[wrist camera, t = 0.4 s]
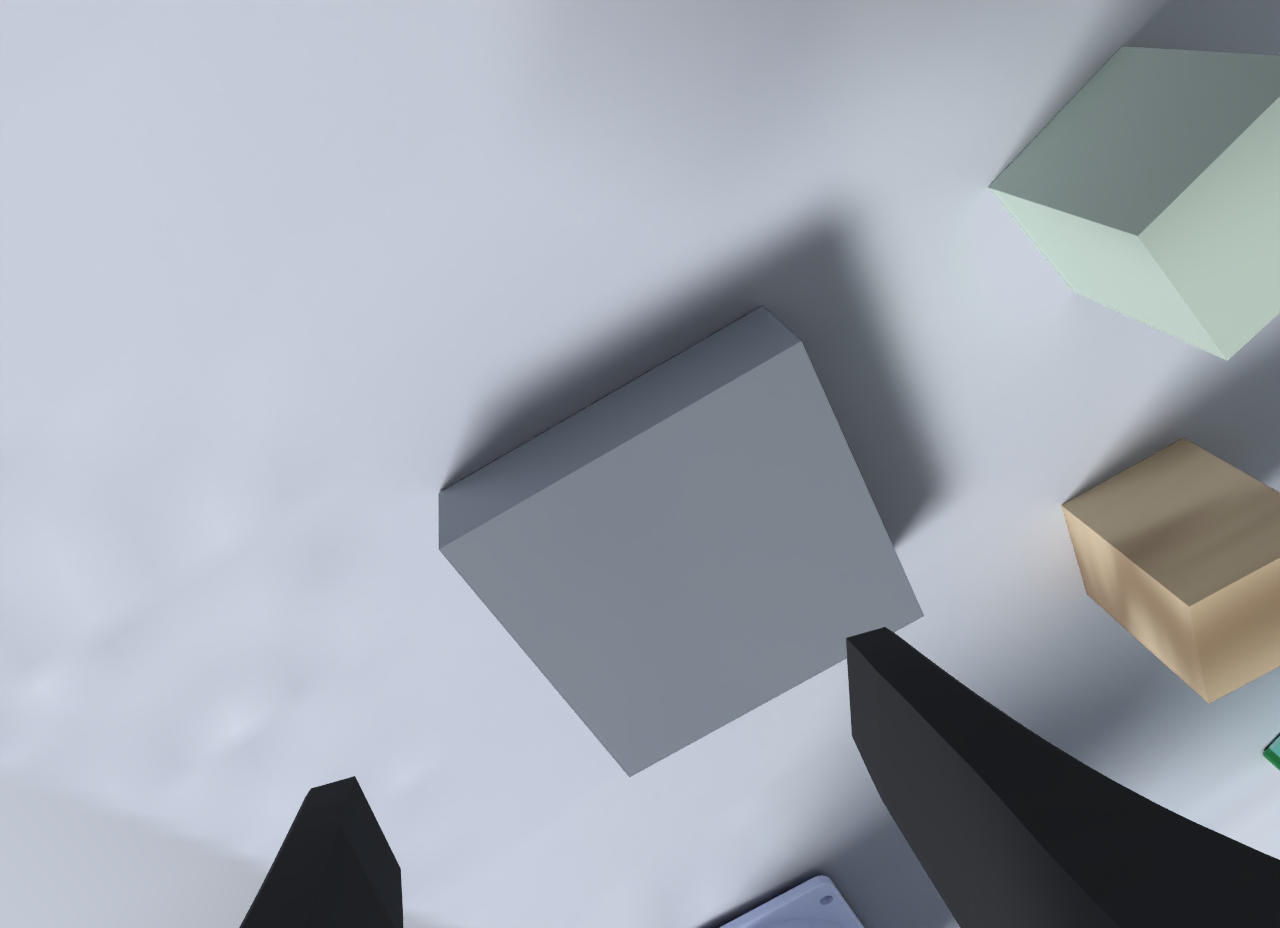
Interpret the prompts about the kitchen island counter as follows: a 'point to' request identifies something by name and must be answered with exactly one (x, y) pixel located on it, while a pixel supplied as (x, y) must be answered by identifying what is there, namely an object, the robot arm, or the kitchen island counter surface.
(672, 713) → the slate base
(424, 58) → the kitchen island counter surface
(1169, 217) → the sage block
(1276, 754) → the milk carton
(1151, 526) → the oak block
